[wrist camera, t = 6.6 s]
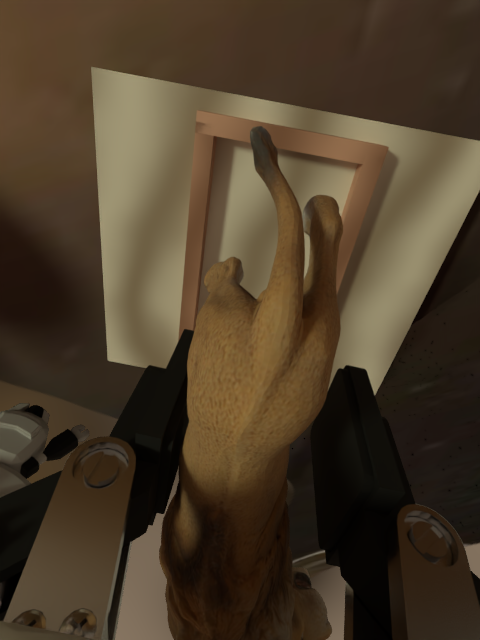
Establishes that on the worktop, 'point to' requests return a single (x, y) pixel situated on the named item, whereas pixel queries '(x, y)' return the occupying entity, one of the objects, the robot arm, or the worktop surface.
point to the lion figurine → (253, 431)
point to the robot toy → (30, 444)
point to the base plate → (265, 211)
